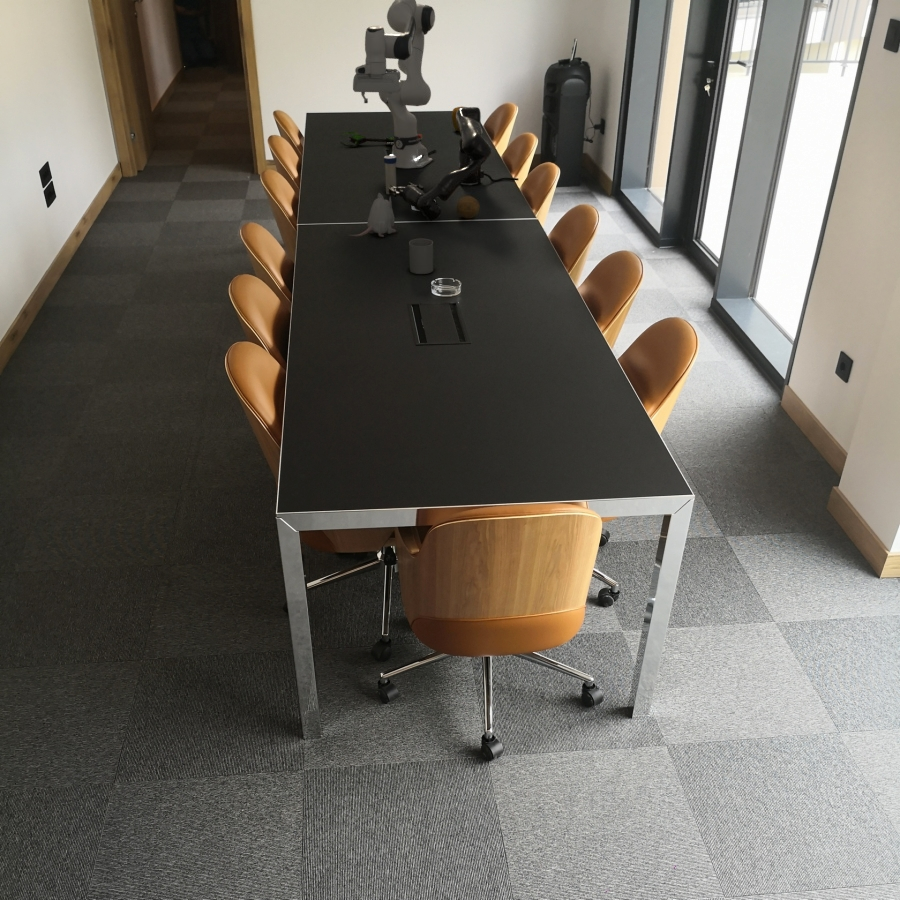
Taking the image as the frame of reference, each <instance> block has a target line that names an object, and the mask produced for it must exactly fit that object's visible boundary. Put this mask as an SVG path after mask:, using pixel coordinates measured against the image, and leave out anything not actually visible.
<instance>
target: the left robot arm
mask: <svg viewBox="0 0 900 900" xmlns="http://www.w3.org/2000/svg"><path fill="white" fill-rule="evenodd" d="M386 20H387V23H388V25H389V27H390V28H391V29H392V30H393V31H394V32H397V33H385V29H384V27H383V26H381V25H372V26H368V27H367V28H366V29H365V36H364V51H365V62H364V63H365V64H361V65H358V66H356V67H355V69H354V73H355V74H354V76H353V80H352V90H353V92H354V93H360V94H361V97H362V99H363V104H368V103H369V101H368V100H369V98H367V97H366V96H365V95H366V93H378V97H379V99H380V100H381V101H382V103H384V104H385V106H386V107H387V108H388V110H389V111H390V114H391V116H392V122H393V133H394V134H393V140H394V144H392V148H391V150H392V151H391V154H389V156H396V169H397V168H398V169H416V168H417V169H421V168H424V167H426V166H427V165H428V164H430V163H432V162H433V158H431V157H429V155H430V154H433V153H434V152H436V151H437V150H436V149H433V150H430V151H428V149H427V148H426V146H425V145H423V144H422V143H421V142H420V140H421V139H422V138H423V134H422V133H418V120H417V118H416V115H414V114H413V113H411V112H410V111H409V110H408V108H407V106H409V107H422V106H426V105H427V104H428V103H429V102H430V100H431V97H432V90H431V87H430V86H429V84H428V83H427V82H426V81H425V79H424V77H423V73H422V64H423V57H424V52H425V51H424V50H425V35H427V34H428V33H429V32H430V31H431V30H432V29H433V27H434V25H435V22H436V14H435V9H434V8H433V6H431V5H428V4H421V3H417V0H394V1H393V2H392V4H391V5H390V6H389V8H388V10H387V13H386ZM387 59H390V60H392V59H393V60H397V67H398V69H397V68H393V69H392V68H387ZM401 72H402V73H403V74H405V76H406V79H401V77H402V76H401Z"/></svg>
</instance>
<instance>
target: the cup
mask: <svg viewBox="0 0 900 900" xmlns="http://www.w3.org/2000/svg"><path fill="white" fill-rule="evenodd" d="M408 253H409V272H411V273H412V274H416V275H426V274H430V273H432V272H434V241H433V240H431V239H428V238H422V237H421V238H420V237H419V238H414V239H411V240H410V241H409V242H408Z"/></svg>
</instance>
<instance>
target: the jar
mask: <svg viewBox="0 0 900 900" xmlns="http://www.w3.org/2000/svg"><path fill="white" fill-rule="evenodd" d="M384 174H385V175H384V176H385V178H384V180H385V194H386V195H390V194H389V188H390V185H393V186H394V187H397V167H396V163H393V164H387V163H384ZM395 190H396V189H395ZM396 192H397V190H396Z"/></svg>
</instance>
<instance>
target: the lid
mask: <svg viewBox="0 0 900 900" xmlns="http://www.w3.org/2000/svg"><path fill="white" fill-rule="evenodd" d="M383 163H384V164H385V163H387V164H393V163H396V156H390V155H385V156H384V157H383Z"/></svg>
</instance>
